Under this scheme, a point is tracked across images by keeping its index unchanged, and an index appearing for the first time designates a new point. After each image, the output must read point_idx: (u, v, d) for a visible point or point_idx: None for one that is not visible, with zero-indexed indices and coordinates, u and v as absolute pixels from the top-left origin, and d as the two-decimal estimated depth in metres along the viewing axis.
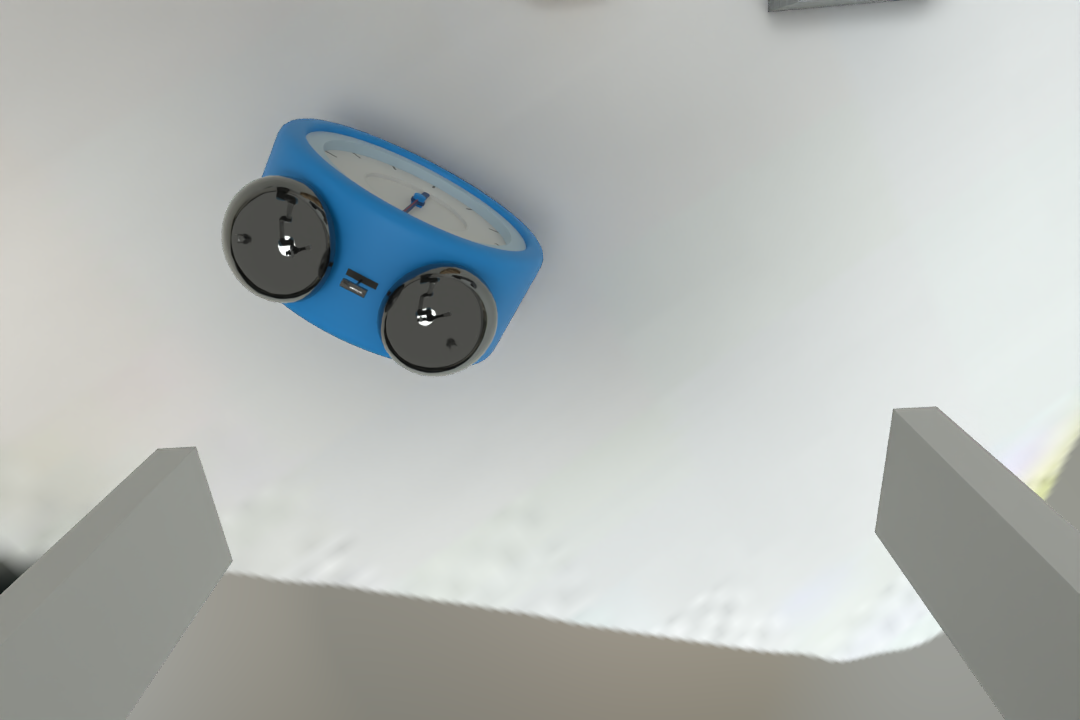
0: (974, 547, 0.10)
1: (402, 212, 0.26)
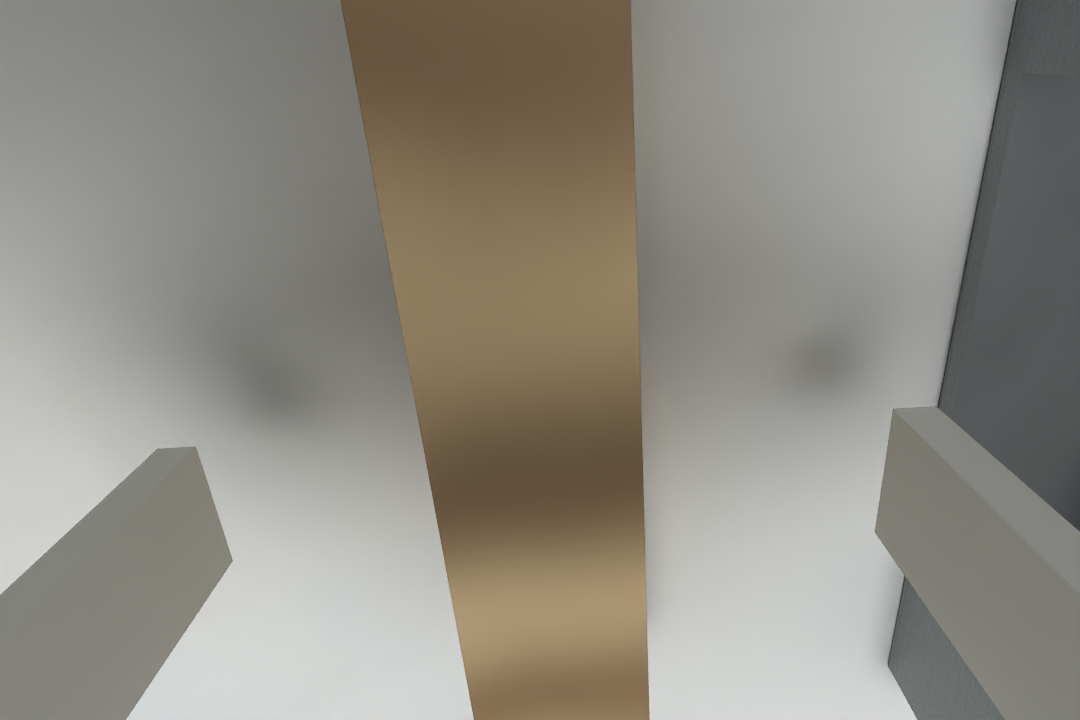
0: (974, 547, 0.10)
1: None
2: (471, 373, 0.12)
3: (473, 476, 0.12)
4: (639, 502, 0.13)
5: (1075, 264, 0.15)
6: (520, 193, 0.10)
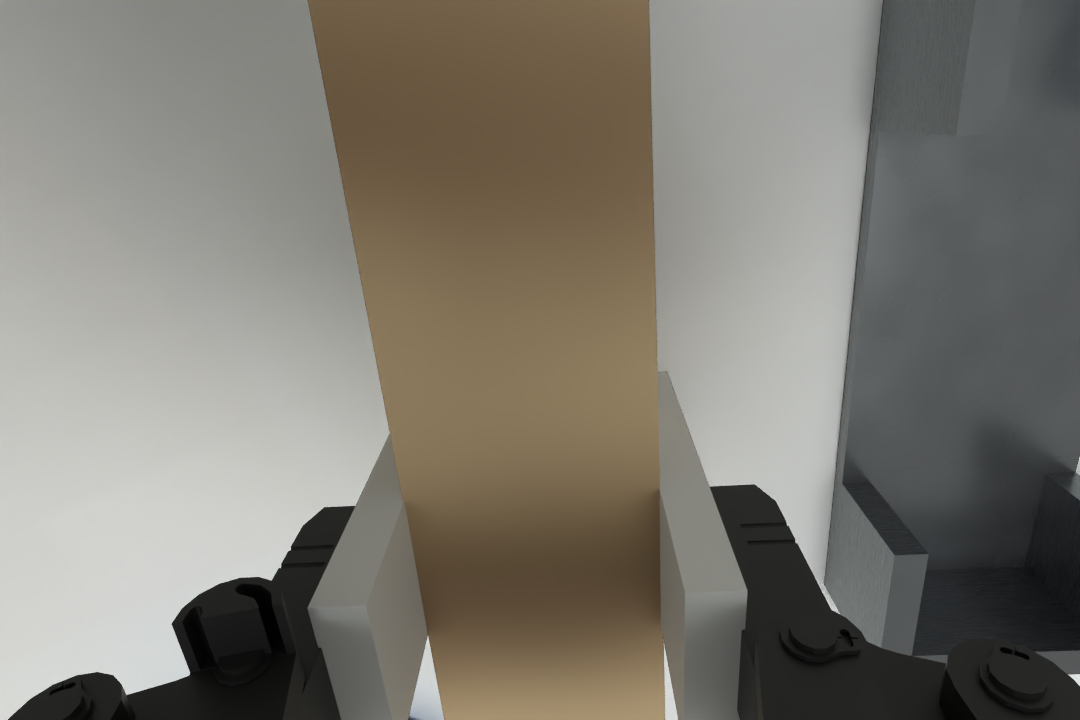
0: None
1: None
2: (467, 475, 0.10)
3: (469, 587, 0.11)
4: (658, 617, 0.11)
5: (931, 260, 0.21)
6: (524, 281, 0.09)
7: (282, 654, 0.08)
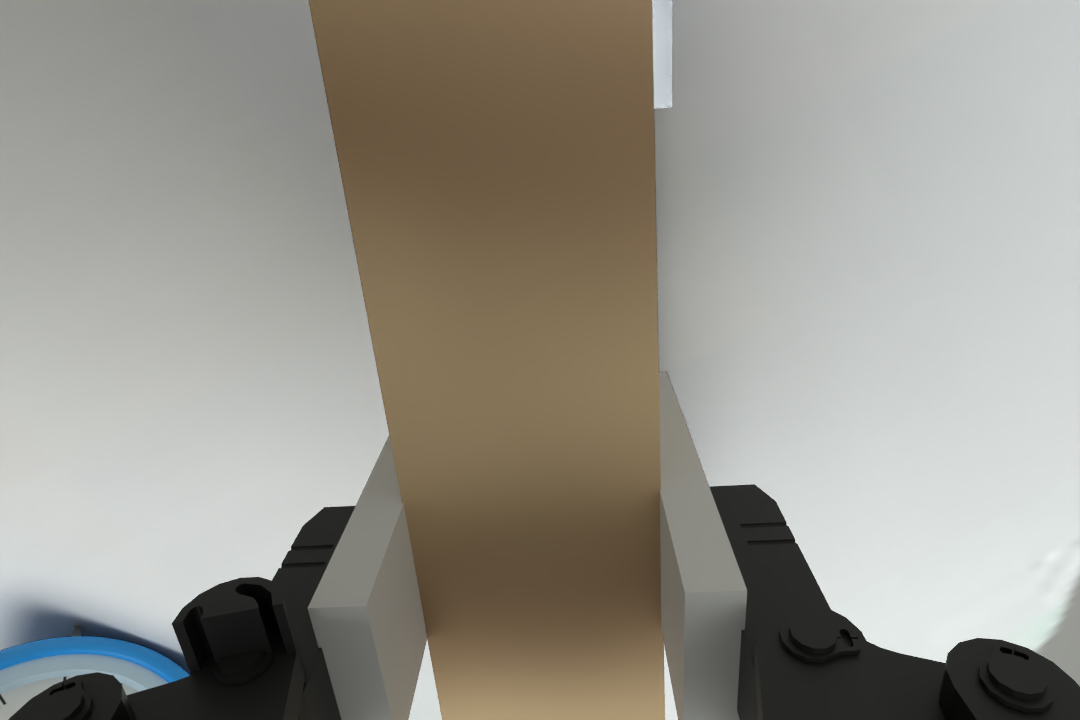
0: None
1: None
2: (467, 480, 0.10)
3: (469, 592, 0.11)
4: (658, 622, 0.11)
5: None
6: (525, 285, 0.09)
7: (282, 654, 0.08)
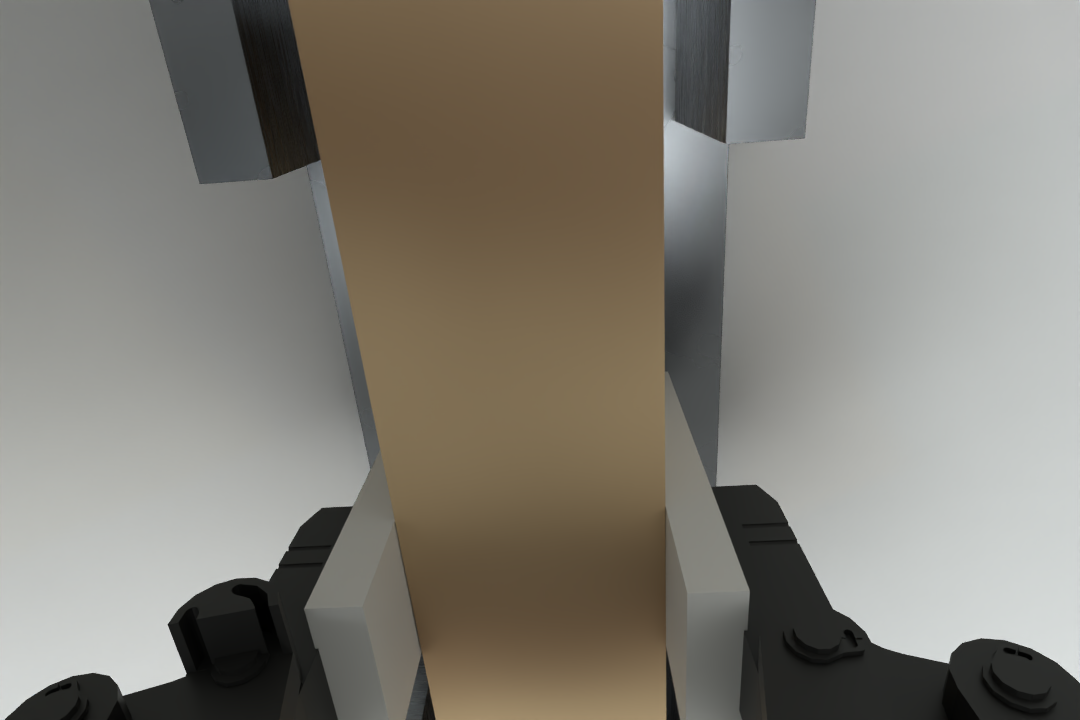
0: None
1: None
2: (463, 500, 0.10)
3: (465, 612, 0.11)
4: (660, 642, 0.11)
5: None
6: (525, 301, 0.08)
7: (278, 654, 0.08)
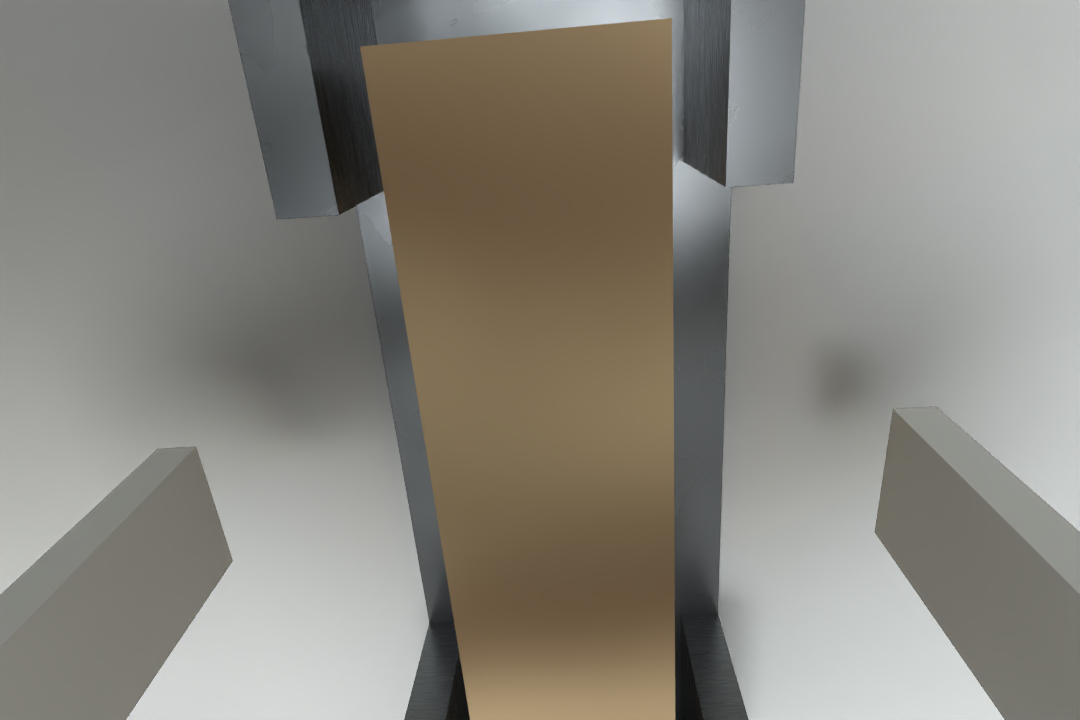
0: (974, 547, 0.10)
1: None
2: (497, 494, 0.11)
3: (496, 596, 0.12)
4: (670, 626, 0.12)
5: None
6: (553, 320, 0.10)
7: None
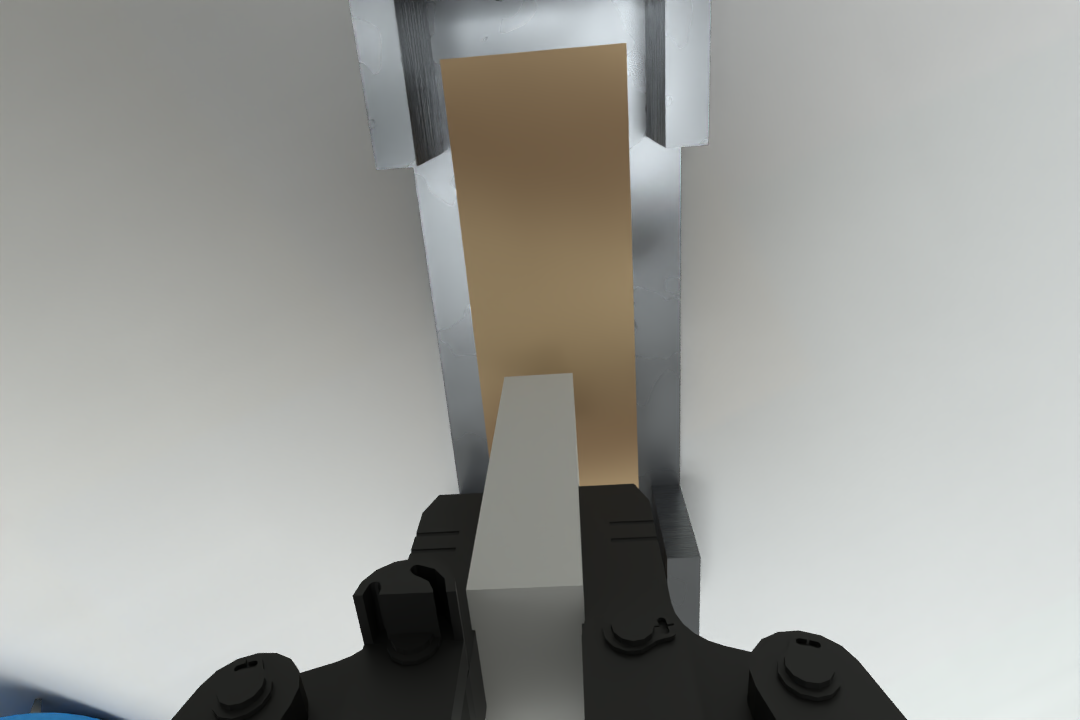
0: None
1: None
2: (518, 353, 0.17)
3: None
4: (634, 449, 0.18)
5: None
6: (555, 232, 0.16)
7: (450, 640, 0.08)
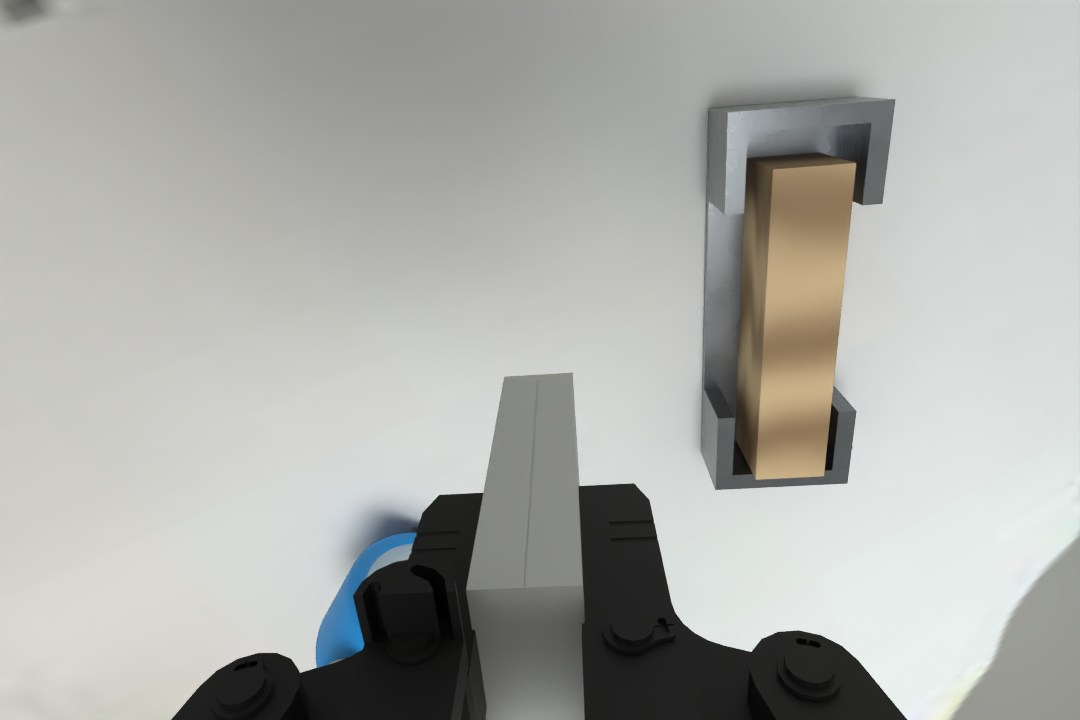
0: None
1: None
2: (786, 301, 0.35)
3: (779, 339, 0.36)
4: (835, 349, 0.36)
5: (740, 267, 0.40)
6: (812, 244, 0.34)
7: (450, 640, 0.08)
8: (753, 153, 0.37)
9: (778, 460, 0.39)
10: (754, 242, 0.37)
